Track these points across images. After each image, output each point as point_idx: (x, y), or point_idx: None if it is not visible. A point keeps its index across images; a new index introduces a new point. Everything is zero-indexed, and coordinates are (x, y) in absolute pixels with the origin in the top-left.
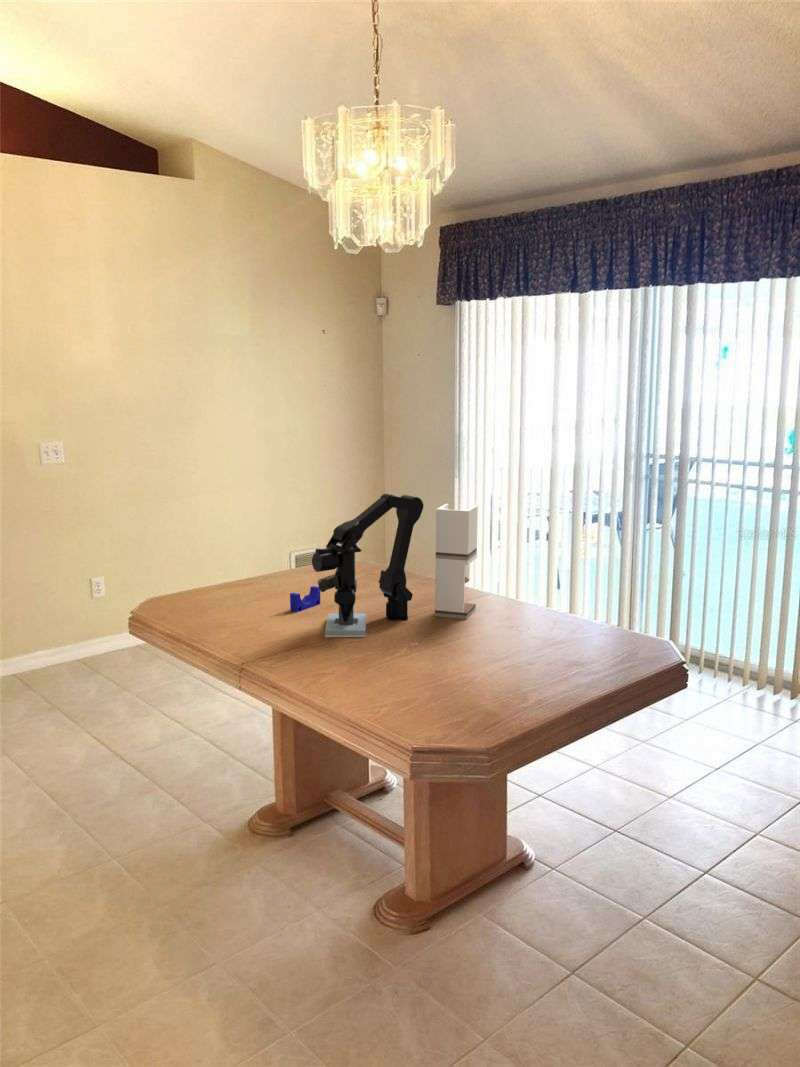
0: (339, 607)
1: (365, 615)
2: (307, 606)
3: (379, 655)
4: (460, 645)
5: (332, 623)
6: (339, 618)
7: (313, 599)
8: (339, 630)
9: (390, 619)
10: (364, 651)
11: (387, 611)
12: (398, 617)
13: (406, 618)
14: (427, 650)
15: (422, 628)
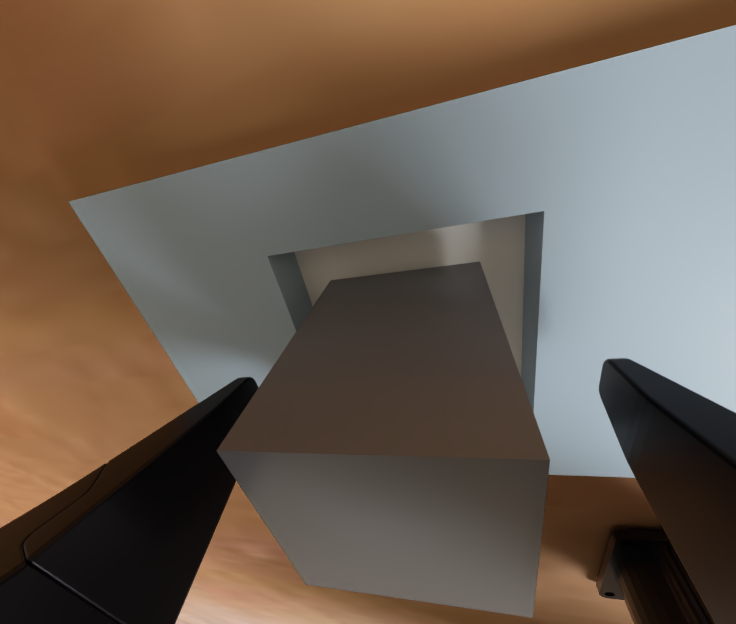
0: (229, 457)
1: (629, 473)
2: None
3: (79, 467)
4: (290, 614)
5: (309, 224)
6: (304, 330)
7: None
8: (149, 326)
9: (610, 540)
10: (76, 427)
11: (692, 591)
12: (618, 578)
13: (601, 593)
14: (211, 563)
15: None
